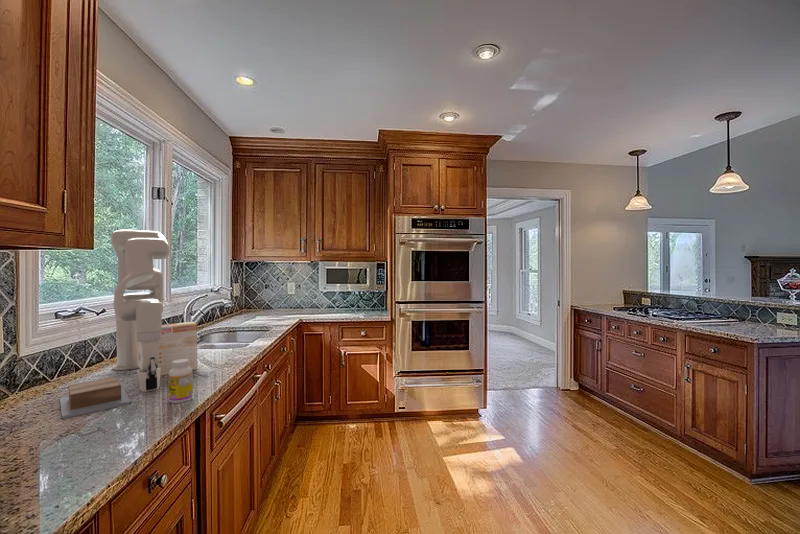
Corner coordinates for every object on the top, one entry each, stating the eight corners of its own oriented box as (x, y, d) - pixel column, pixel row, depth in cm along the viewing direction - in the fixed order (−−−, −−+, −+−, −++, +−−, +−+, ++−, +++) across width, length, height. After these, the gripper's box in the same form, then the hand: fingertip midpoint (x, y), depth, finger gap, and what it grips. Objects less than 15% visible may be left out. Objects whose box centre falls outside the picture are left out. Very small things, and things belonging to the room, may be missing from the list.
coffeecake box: (193, 365, 156) (193, 321, 156) (198, 369, 151) (197, 323, 151) (152, 373, 146) (151, 325, 146) (155, 377, 141) (154, 327, 141)
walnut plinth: (68, 399, 116) (68, 385, 116) (116, 390, 124) (115, 376, 124) (70, 410, 107) (70, 394, 107) (121, 399, 116) (121, 385, 116)
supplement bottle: (166, 400, 117) (165, 360, 117) (188, 394, 122) (188, 356, 121) (172, 405, 112) (171, 364, 112) (195, 399, 117) (195, 360, 117)
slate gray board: (60, 400, 117) (59, 397, 117) (121, 388, 128) (121, 386, 128) (61, 418, 103) (61, 416, 103) (131, 403, 114) (131, 401, 114)
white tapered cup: (165, 385, 131) (165, 366, 131) (150, 392, 124) (150, 372, 124) (148, 385, 131) (148, 366, 131) (132, 391, 125) (132, 371, 124)
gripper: (131, 334, 131) (132, 383, 131) (140, 341, 119) (141, 396, 119) (156, 331, 136) (156, 379, 136) (167, 338, 124) (167, 390, 124)
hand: (149, 386), depth 128 cm, fingers closed on white tapered cup, 5 cm apart
